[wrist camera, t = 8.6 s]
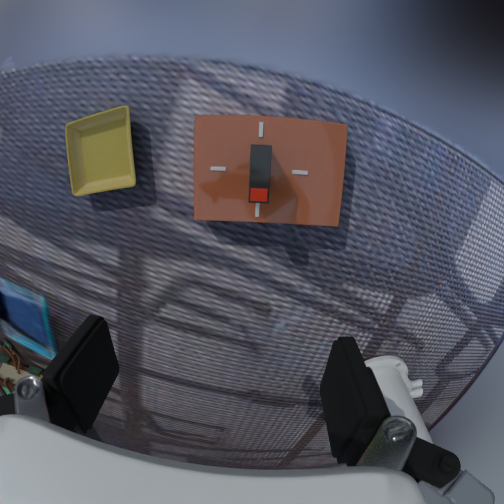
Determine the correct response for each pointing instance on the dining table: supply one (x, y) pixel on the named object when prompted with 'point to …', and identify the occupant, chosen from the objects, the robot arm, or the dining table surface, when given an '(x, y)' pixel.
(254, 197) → the black block red end
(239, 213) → the panel
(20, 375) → the book
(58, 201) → the dining table surface
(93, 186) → the yellow square tray
